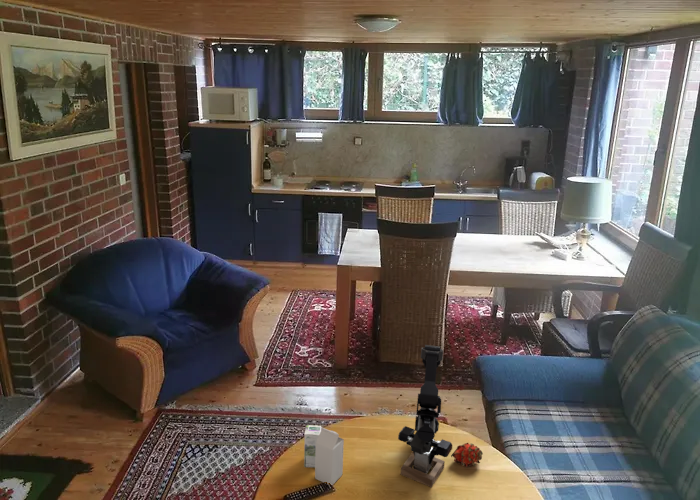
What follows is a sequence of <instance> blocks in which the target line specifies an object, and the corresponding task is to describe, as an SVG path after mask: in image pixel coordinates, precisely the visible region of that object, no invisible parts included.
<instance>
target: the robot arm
mask: <svg viewBox="0 0 700 500" xmlns="http://www.w3.org/2000/svg"><path fill="white" fill-rule="evenodd" d="M420 359H421V360H422V361H421V362H422V364H423V366H424V368H425V372H424V373H425V374H424V382H423V384H422V385H421V386H420V393H417V402H416V403H417V404H416V412H415V415H416V416H415V420H414V421H415V422H414V423H415V424H414V428H412V427H408V426H403V428H402V429H401V430H400V431H399V433H398V434H397V435H398V436H397V437H398V438H397V439H398V441H401V442H403V443H406V445H408V446H409V447H410V451H412V452H413V453H414V456H415V452H416V453H419V454H421V455H422V454H424V453H426V452H430V450H431V448H432V447H433V449H432V450H431V452H430V454H431V455H430V460H429V464H431V463H432V461H433V459H434V457H435V458H436V456H440V457H443V458H447V457H448V456H449V455H450V453H451V451H452V450H453V443H452V442H451V441H448V440H445V439H443V438H442V439H441V440H436V439H435V437H436V435H435V434H437V432H439V427H440V423H439V421H438V419H439V418H440V417H439V414H441V412H442V398H441V396H440V395H439V388H438V387H437V385H436V382H437V381H436V379H437V369H438V368H439V366H440V364H441V362H443V359H444V349H441V346H439V345H438V346H437V345H430V344H424V347H421V352H420ZM419 407H420V408H419ZM436 409H437V410H436Z"/></svg>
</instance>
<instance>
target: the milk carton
mask: <svg viewBox="0 0 700 500" xmlns="http://www.w3.org/2000/svg"><path fill="white" fill-rule="evenodd" d="M339 435H340V434H339V433H338V432H336V431H334V430H332V429H331V430H329V429H327V428H324V427H321V432H320V434H319V436H318V438H317V441H316V451H315V468H314V479H315V480H316V481H317V480H318V481H320V482H322V483H324V482H327V483H330V484H331V485H332V486H333V485H334V484H335V483H336V482H337V481H338V480H339V479H340V478H341V477H342V475H343V472H344V471H343V469H344V444H345V443H344V441H345V440H344V439H343V438H341V437H340V436H339Z"/></svg>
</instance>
